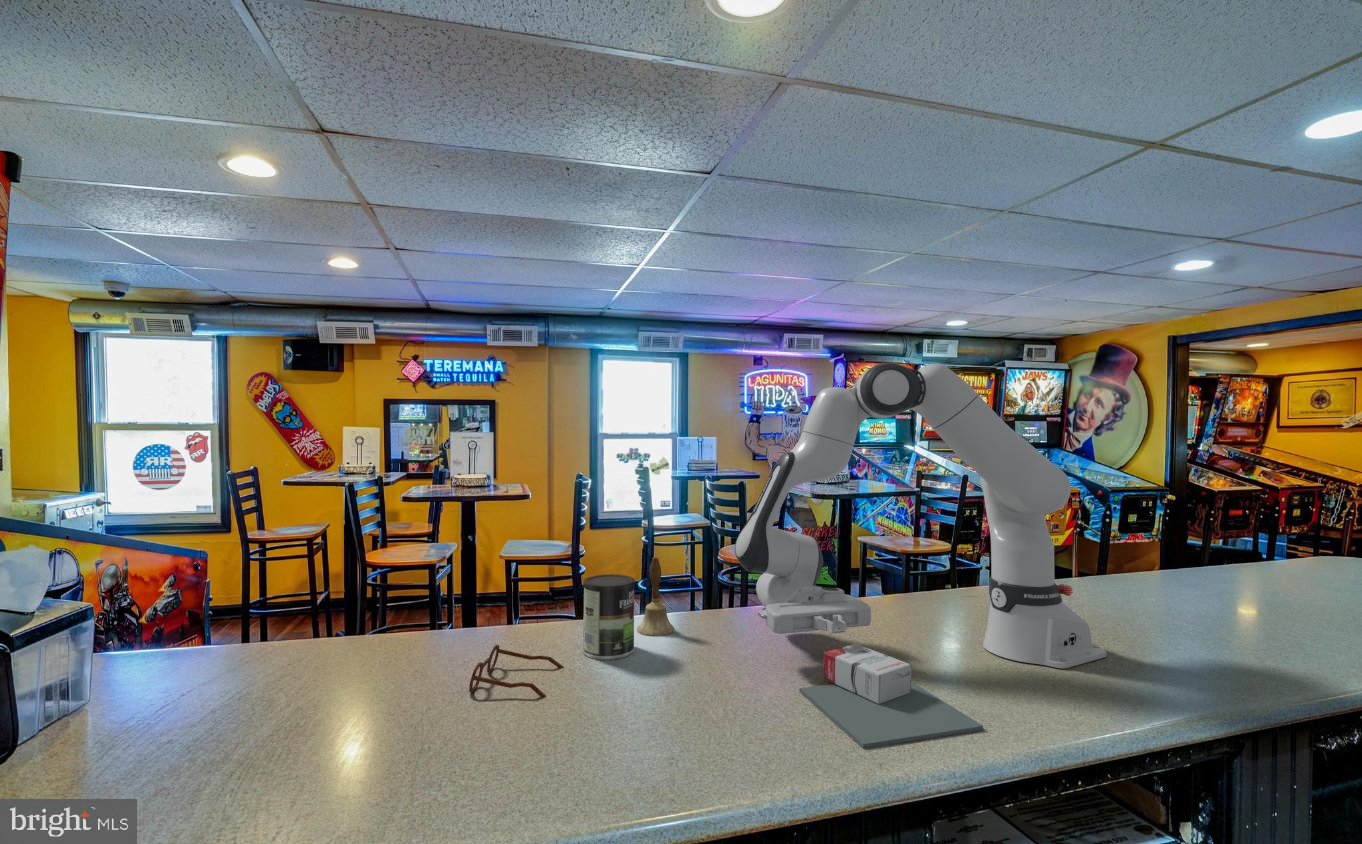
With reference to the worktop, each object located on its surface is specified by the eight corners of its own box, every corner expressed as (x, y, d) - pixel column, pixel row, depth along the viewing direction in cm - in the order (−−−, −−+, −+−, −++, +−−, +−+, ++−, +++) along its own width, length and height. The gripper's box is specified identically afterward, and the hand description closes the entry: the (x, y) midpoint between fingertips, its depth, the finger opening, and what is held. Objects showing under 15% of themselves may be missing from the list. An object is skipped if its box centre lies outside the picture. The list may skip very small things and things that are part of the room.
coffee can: (642, 645, 123) (642, 576, 123) (621, 663, 113) (622, 588, 113) (597, 639, 126) (597, 572, 127) (573, 656, 116) (573, 583, 117)
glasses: (494, 668, 111) (494, 641, 112) (563, 669, 111) (564, 642, 111) (466, 699, 98) (467, 668, 98) (546, 700, 98) (546, 669, 98)
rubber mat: (902, 679, 106) (902, 675, 106) (983, 730, 88) (983, 725, 88) (799, 691, 101) (799, 688, 101) (863, 748, 82) (862, 744, 82)
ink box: (822, 680, 104) (879, 705, 94) (822, 651, 104) (879, 673, 94) (855, 670, 109) (912, 693, 99) (855, 642, 109) (913, 663, 99)
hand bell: (666, 638, 127) (666, 562, 128) (630, 633, 130) (631, 559, 130) (679, 626, 135) (680, 555, 135) (646, 622, 138) (646, 553, 138)
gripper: (754, 594, 116) (785, 615, 103) (847, 587, 122) (888, 606, 109) (754, 627, 116) (785, 652, 103) (847, 618, 122) (888, 641, 109)
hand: (839, 628), depth 106 cm, fingers closed
